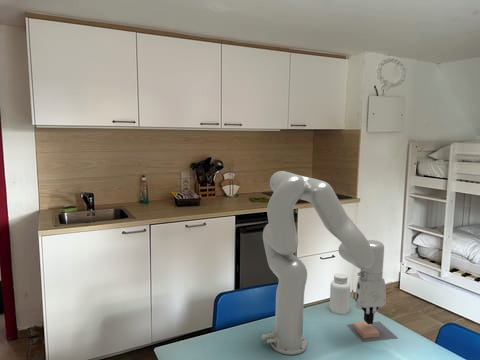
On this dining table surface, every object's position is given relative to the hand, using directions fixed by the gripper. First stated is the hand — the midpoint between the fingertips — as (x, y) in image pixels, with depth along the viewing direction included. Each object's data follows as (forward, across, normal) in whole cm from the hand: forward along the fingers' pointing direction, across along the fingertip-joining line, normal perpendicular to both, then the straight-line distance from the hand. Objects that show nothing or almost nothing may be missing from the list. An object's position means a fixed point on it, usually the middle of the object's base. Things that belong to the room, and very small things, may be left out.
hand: (368, 322), depth 136 cm
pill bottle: (+4, -2, +18) cm, 19 cm away
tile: (+3, +2, 0) cm, 3 cm away
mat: (+4, +2, 0) cm, 4 cm away
